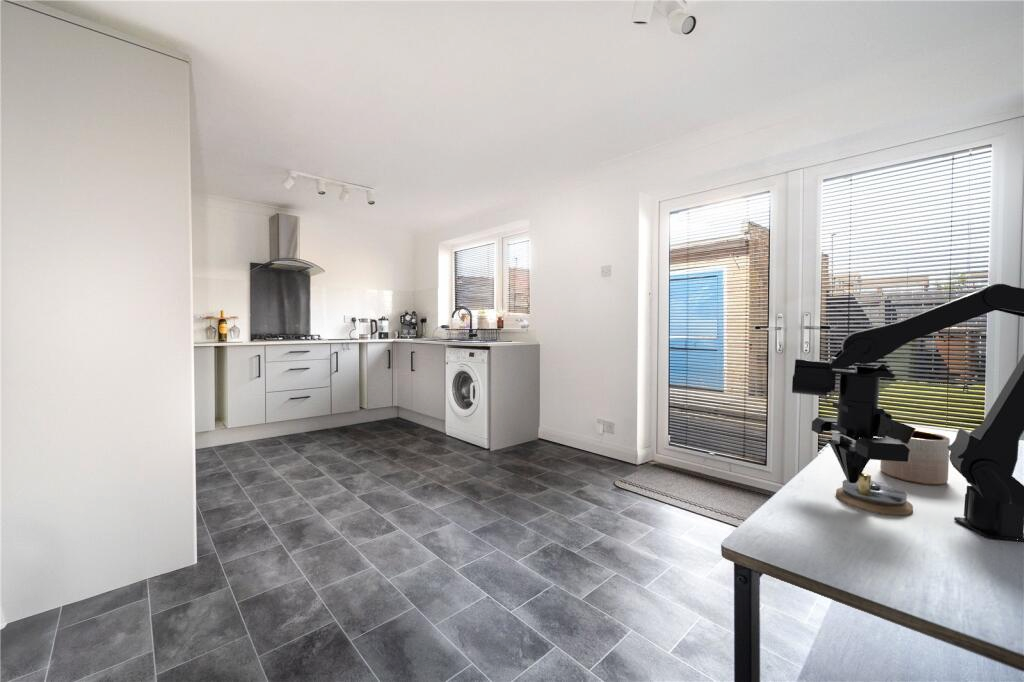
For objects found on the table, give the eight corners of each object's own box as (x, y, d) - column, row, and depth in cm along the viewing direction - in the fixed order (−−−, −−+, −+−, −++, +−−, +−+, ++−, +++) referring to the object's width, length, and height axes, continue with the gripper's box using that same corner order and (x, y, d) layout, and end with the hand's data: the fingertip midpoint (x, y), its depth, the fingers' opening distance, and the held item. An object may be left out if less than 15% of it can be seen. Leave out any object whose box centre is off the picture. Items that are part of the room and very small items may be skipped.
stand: (929, 518, 74) (930, 507, 74) (858, 512, 76) (859, 502, 76) (884, 492, 86) (885, 483, 85) (823, 488, 87) (824, 479, 87)
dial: (881, 487, 85) (882, 462, 85) (920, 507, 76) (922, 480, 75) (830, 484, 86) (831, 460, 86) (863, 504, 77) (864, 477, 76)
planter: (918, 469, 100) (921, 428, 99) (962, 487, 89) (965, 441, 88) (868, 467, 101) (870, 426, 100) (905, 485, 90) (908, 439, 89)
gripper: (951, 413, 69) (943, 508, 70) (873, 392, 87) (867, 468, 88) (873, 409, 70) (866, 502, 71) (812, 390, 89) (807, 464, 90)
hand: (852, 482), depth 80 cm, fingers closed
